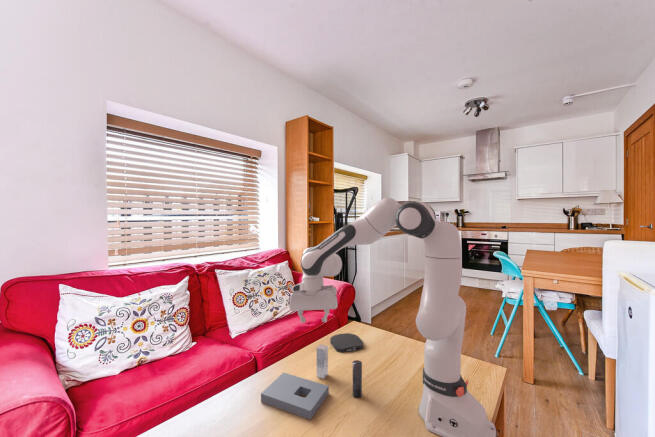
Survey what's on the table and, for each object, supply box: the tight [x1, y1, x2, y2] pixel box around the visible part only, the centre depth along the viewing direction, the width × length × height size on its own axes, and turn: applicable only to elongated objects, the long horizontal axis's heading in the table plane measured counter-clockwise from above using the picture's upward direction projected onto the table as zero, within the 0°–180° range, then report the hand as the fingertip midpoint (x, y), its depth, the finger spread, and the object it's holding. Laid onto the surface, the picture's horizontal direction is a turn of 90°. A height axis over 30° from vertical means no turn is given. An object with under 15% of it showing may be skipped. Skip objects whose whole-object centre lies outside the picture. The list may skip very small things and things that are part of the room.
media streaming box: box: [329, 332, 364, 354], centre depth 139 cm, size 15×15×3 cm
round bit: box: [352, 359, 363, 399], centre depth 101 cm, size 3×3×12 cm
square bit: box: [316, 344, 329, 380], centre depth 112 cm, size 3×3×12 cm
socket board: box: [260, 372, 330, 421], centre depth 99 cm, size 20×14×3 cm
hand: (313, 322), depth 109 cm, fingers open, 8 cm apart
